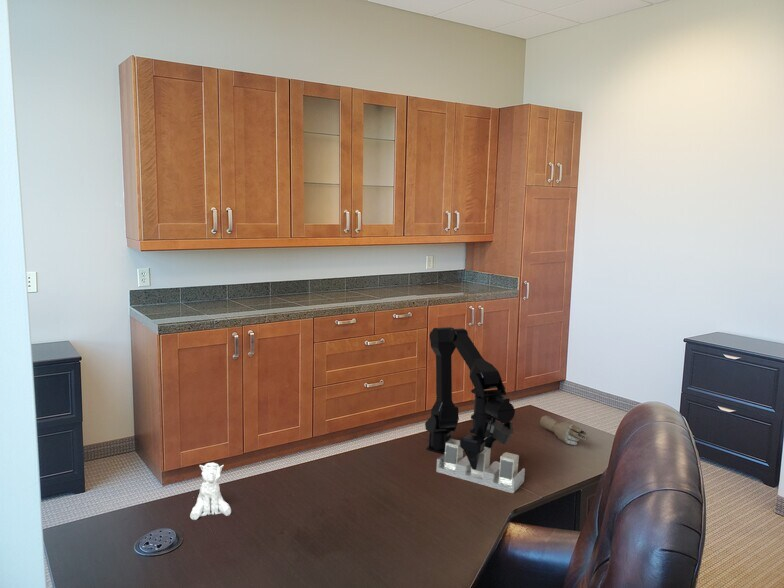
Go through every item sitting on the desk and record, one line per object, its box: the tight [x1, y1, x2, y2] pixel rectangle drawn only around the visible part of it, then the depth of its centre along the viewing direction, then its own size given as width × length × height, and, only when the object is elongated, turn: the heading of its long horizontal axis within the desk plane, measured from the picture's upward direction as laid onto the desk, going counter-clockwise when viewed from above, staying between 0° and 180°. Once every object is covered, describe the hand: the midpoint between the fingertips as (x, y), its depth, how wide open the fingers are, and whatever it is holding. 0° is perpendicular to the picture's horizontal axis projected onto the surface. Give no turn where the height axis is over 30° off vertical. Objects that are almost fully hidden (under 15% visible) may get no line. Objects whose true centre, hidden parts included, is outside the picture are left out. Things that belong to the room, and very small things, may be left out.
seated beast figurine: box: [189, 462, 232, 521], centre depth 149 cm, size 10×9×12 cm
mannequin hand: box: [539, 415, 588, 446], centre depth 210 cm, size 7×7×25 cm
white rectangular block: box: [471, 447, 492, 476], centre depth 176 cm, size 4×4×7 cm
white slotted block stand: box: [435, 438, 526, 494], centre depth 176 cm, size 24×9×8 cm, turn 59°
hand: (480, 463), depth 176 cm, fingers open, 9 cm apart
